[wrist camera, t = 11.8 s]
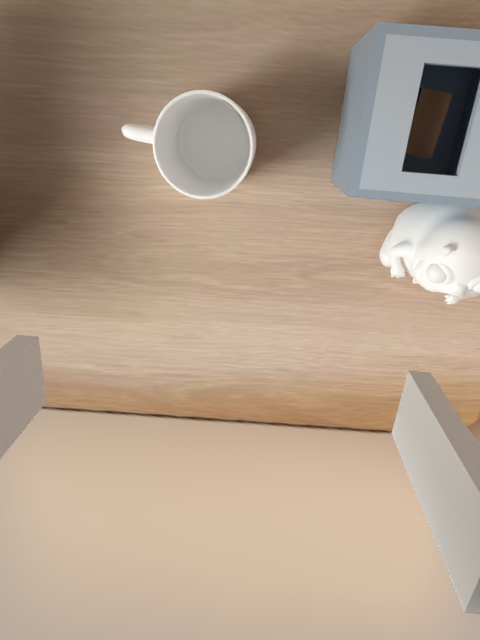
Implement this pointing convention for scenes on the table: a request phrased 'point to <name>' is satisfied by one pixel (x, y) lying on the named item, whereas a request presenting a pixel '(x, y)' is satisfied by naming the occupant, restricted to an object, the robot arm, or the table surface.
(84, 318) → the table surface
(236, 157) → the cup
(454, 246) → the figurine
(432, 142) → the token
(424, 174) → the coin box
